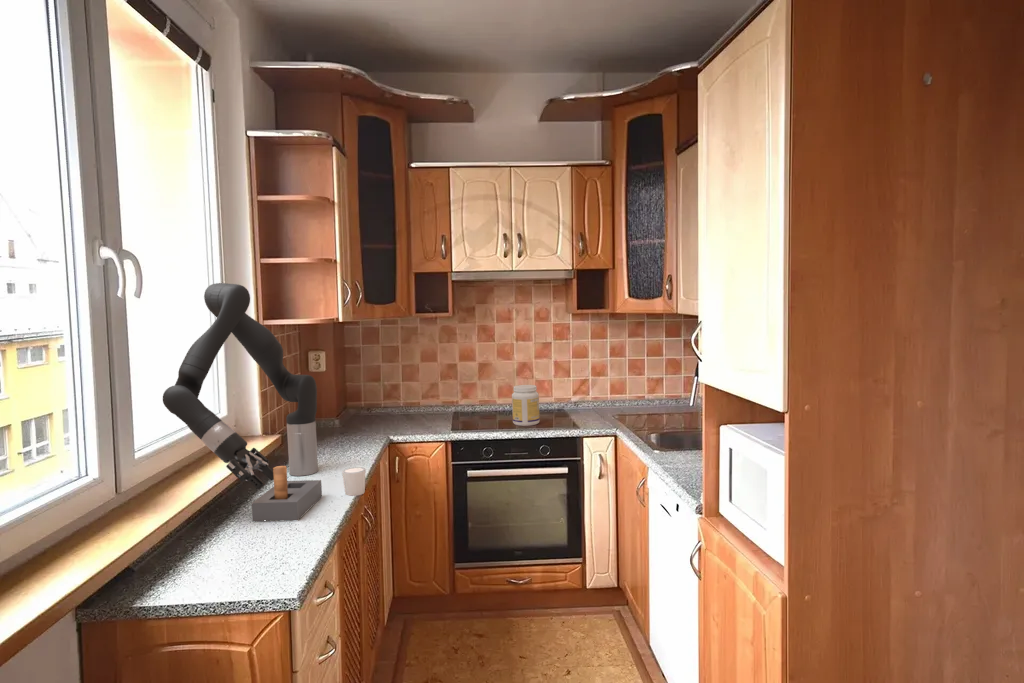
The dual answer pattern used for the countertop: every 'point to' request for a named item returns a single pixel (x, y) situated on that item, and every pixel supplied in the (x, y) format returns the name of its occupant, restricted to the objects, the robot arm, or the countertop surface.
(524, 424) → the supplement tub
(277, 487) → the peg
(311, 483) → the hole block
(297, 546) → the countertop surface
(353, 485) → the shot glass
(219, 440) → the robot arm
